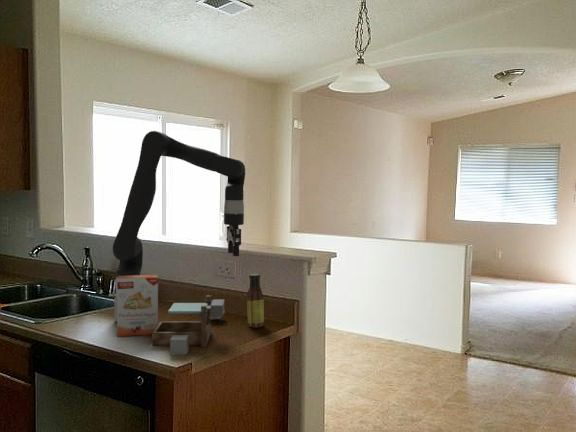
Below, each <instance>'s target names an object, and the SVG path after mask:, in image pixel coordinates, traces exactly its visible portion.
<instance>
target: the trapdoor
mask: <svg viewBox="0 0 576 432" xmlns="http://www.w3.org/2000/svg"><path fill="white" fill-rule="evenodd" d="M202 305H206V310H207V311H211V317H221V318H223V317H224V314H225V312H224V309H225V299H212V304H211V306H208V303H205V302H173V304H172V305H171V306H170V308H169V309H168V310H167V314H169V315H170V314H172V315H173V314H175V315H176V314H178V315H179V314H181V315H182V314H184V315H185V314H186V315H187V314H190V315H191V314H192V315H193V314H194V315H195V314H199V315H200V311H201V306H202Z"/></svg>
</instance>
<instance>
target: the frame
mask: <svg viewBox="0 0 576 432" xmlns="http://www.w3.org/2000/svg"><path fill="white" fill-rule="evenodd" d="M212 301H213V299H212V295H211V294H210V295H205V300H204V303H208V306H211V304H212ZM199 318H200V321H160V322H158V326H157V327H156V328H155V330H154V331H153V333H152V336H151V338H152V339H151V341H152V345H151V346H152V347H157V346H162V347H164V346H167V347H170V339H171V338H172V336H173V335H189V340H188V345H190V346H191V345H200V347H201V348H207V347H208V343H209V340H210V337H211V335H212V333H211V332H212V331H211V330H212V322H211V321H212V319H211V311H207V310H206V305H202V306H201V311H200V314H199Z"/></svg>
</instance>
